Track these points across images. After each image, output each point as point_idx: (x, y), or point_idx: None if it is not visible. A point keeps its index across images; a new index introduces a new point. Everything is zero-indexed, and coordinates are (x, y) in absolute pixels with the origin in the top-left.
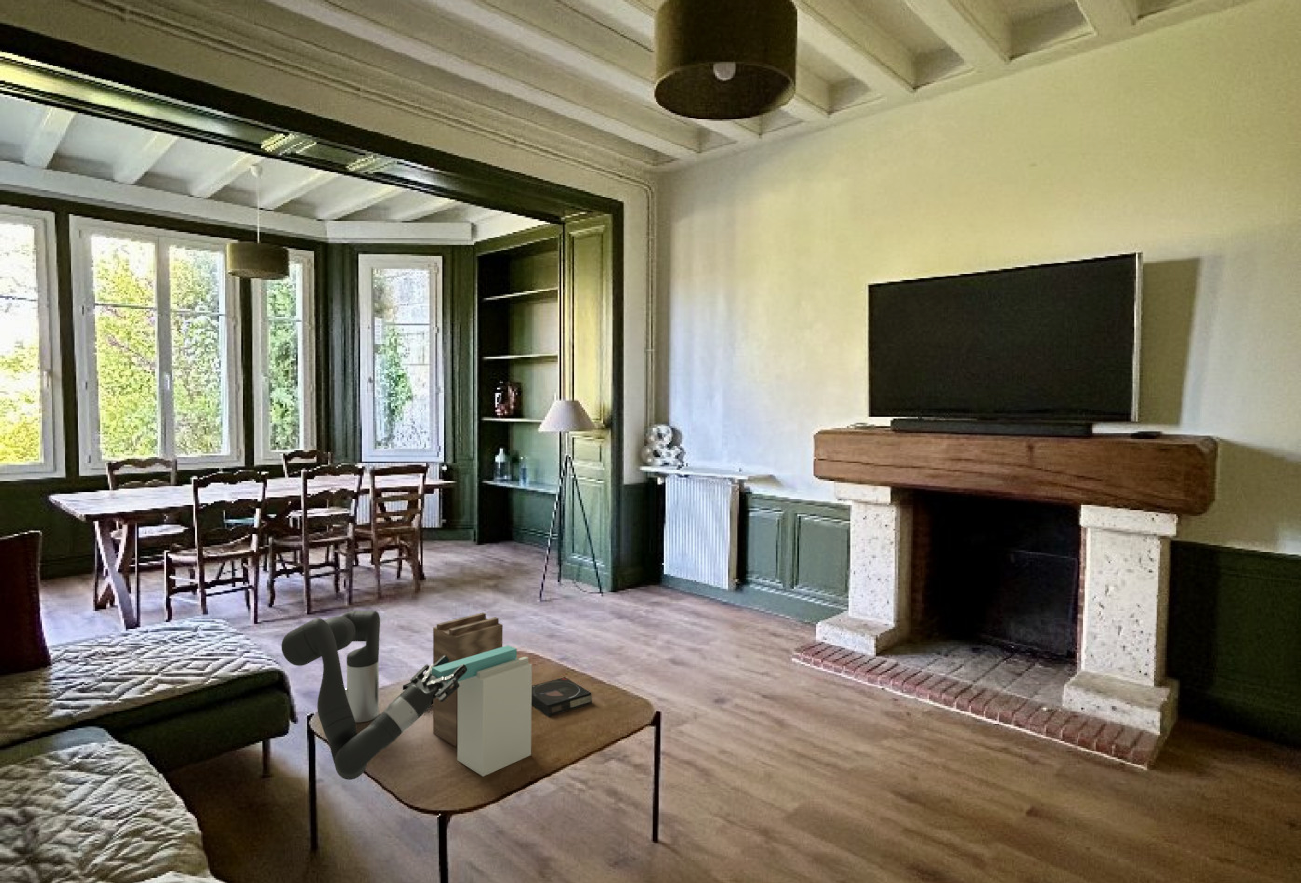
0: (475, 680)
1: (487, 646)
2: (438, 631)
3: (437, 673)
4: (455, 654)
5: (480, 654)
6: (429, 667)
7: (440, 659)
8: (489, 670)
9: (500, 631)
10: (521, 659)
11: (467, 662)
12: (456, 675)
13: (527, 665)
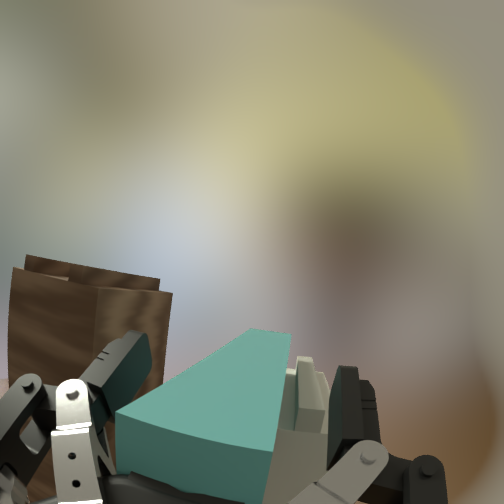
0: (281, 444)
1: (149, 339)
2: (28, 276)
3: (208, 466)
4: (90, 349)
5: (240, 343)
6: (59, 399)
7: (119, 350)
8: (321, 395)
9: (168, 308)
10: (309, 361)
11: (270, 368)
12: (378, 440)
13: (322, 375)
